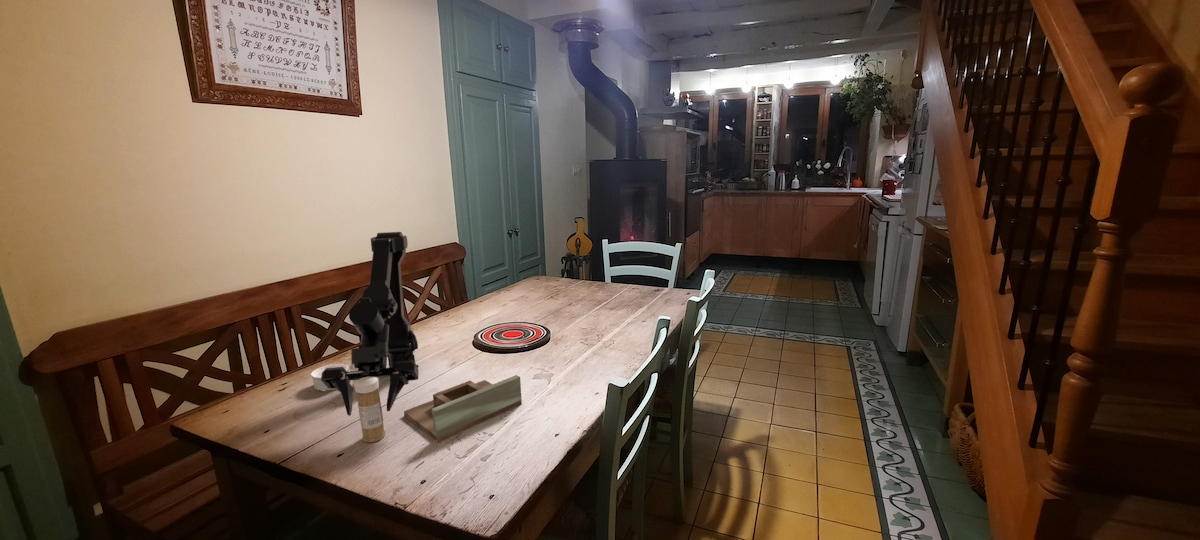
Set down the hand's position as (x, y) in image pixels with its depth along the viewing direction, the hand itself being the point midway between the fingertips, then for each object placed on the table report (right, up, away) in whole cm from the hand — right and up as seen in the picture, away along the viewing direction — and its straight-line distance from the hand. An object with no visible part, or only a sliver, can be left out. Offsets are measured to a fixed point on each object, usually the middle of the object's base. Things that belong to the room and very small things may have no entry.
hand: (368, 412), depth 103 cm
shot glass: (-12, -1, +25) cm, 28 cm away
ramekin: (-23, -1, +28) cm, 36 cm away
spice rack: (+16, -3, +14) cm, 22 cm away
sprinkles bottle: (0, -6, +3) cm, 7 cm away
